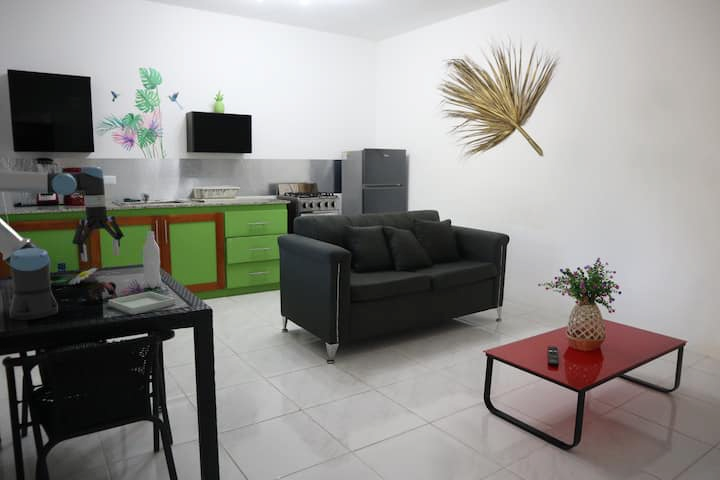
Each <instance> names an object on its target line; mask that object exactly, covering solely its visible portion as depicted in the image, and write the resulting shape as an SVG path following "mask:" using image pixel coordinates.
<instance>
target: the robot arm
mask: <svg viewBox="0 0 720 480" xmlns="http://www.w3.org/2000/svg"><path fill="white" fill-rule="evenodd" d="M75 192H83V200H84V206H85V207H84V209H85V217H86V219H78V225H77V229H76V231H75V234H74V236H73V240H72V242H71V243H72V244H74V245H77V250H78V253H79V254H80V256H81V257H80V258H81V262H88V254H87V247H86V246H87V245H86V244H85V242H86V241H87V240H88V238H89V237H90V235H91V234H92V232H93V231H94V230H99V229H103V230H105V231H106V232H107V233H108V235H110V236H111V237H112V253H113V255H114V256H120V247H121V243H120V241H121V240H122V238H124V237H125V235H124V233H123V232H122V230H121V228H120V227H119V225H118V223H117V222H116V219H115V216H113V215H109V216H107V215H108V214H107V213H108V211H107V206H106V205H107V202H106V201H107V200H106V194H105V193H106V192H105V181H104V174H103V168H102V167H100V166H83V167H81V168H80V171H79V172H39V171H20V170H19V171H18V170H1V169H0V193H17V194H18V193H21V194H22V193H23V194H50V195H52V194H53V195H61V196H69V195H70V194H72V193H75ZM108 222H109V224H110V225H111V226H110V225H109V224H108ZM86 225H87V226H86ZM111 227H112V228H111ZM0 253H1V254H2V261H3V262H5V263H6V264H7V265H8V266H10V268H11V269H10V270H11V280H12V290H13V291H12V292H13V293H12V294H13V296H12V300H11V304H10V307H9V310H8V313H9V316H8V317H9V318H10V319H12V320H19V321H25V320H27V321H28V320H36V319H41V318H47V317H50V316H54V315H55V314H58V312H59V305H58V303H57V301H56V299H55V296H54V294H53V292H52V284H51V281H52V280H51V271H50V269H51V264H52V259H51V256H50V254H49V253H48V251H47V250H46V249H44V248H42V247H40V246H39V245H38V244H36V243H35V242H34V241H33V240H32V239H31V238H27V237H26V238H25V237H22V236H21V235H20V234H19V233H18V232H17V231H16V230H14V229H13V227H11V226H10V225H9V224H8V223H7V222H5V221H4V220H3V219H2V218H1V217H0Z"/></svg>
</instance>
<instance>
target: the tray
mask: <svg viewBox="0 0 720 480" xmlns="http://www.w3.org/2000/svg"><path fill="white" fill-rule="evenodd" d="M107 302H108V304H107V305H108V307H110V308H112V309H115V310H117V311H118V310H119V311H121V312H124V313H127V314H130V315H133V316H134V315H138V313H139V314H142V313H147V312H151V311H154V310H160V309H164V308H169V307H173V306H176V298H174V297H171V296H167V295H164V294H160V293H156V292H154V291H145V292H141V293H136V294H132V295H126V296H122V297H121V296H120V297H117V298H116V299H112V298H110V299H108V300H107Z"/></svg>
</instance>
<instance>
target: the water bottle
mask: <svg viewBox="0 0 720 480" xmlns="http://www.w3.org/2000/svg"><path fill="white" fill-rule="evenodd" d="M145 237H146V241H145V243H144V244H143V247H142V266H143V271H144V275H143V285H144V287H145V288H146V289H149V288H150V289H155V288H160V286H161V283H162V277H161V273H160V272H161V271H160V267H161V257H160V256H161V255H160V254H161V253H160V252H161V250H160V247H159V245H158V243H157V242H156V240H155V237H156V236H155V231H151V230H150V231H146V235H145Z"/></svg>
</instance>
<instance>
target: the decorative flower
mask: <svg viewBox="0 0 720 480" xmlns="http://www.w3.org/2000/svg"><path fill="white" fill-rule="evenodd" d="M97 269H98V268H96V267H94V268H90V269H88V270H84V271H81V272H80V273H79V274H77V275H75V276H71V277H66V278H62V279H57V280H50V281H51V285H52V284H55V283H65V282H67V281H68V280H70V282H69V283H68V285H70V286H72V285H75V284H80V282H81V281H84V280H85V279H87V278H89V276H91V275H93V273H95V272H96V271H97Z"/></svg>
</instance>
